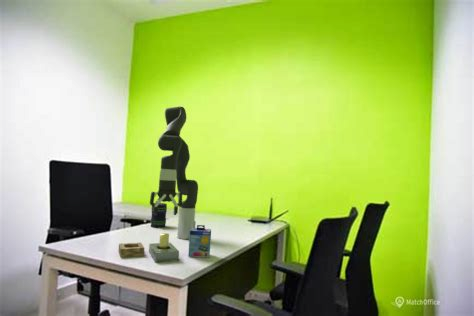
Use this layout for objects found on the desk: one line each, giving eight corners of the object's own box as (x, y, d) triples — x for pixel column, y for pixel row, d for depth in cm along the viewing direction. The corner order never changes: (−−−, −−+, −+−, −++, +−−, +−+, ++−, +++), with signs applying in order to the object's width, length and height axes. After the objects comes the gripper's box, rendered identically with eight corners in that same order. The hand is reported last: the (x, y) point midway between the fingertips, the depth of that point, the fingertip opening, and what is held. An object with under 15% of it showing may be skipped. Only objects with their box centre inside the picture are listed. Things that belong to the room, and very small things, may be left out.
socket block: (140, 249, 150) (141, 242, 150) (143, 255, 141) (144, 247, 141) (118, 251, 146) (118, 243, 146) (120, 257, 137) (120, 249, 137)
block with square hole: (170, 250, 151) (170, 242, 151) (178, 260, 137) (179, 251, 137) (148, 252, 147) (149, 243, 147) (155, 262, 133) (155, 252, 133)
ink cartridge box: (187, 257, 143) (189, 225, 143) (188, 253, 148) (190, 223, 149) (209, 257, 144) (211, 226, 144) (209, 254, 149) (211, 223, 150)
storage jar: (147, 226, 208) (148, 203, 208) (159, 224, 215) (161, 202, 216) (156, 228, 201) (157, 205, 202) (168, 226, 209) (170, 204, 209)
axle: (166, 254, 145) (167, 233, 145) (168, 257, 141) (169, 234, 141) (157, 255, 143) (159, 233, 143) (159, 257, 139) (161, 235, 140)
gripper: (181, 179, 149) (178, 213, 149) (150, 178, 143) (147, 213, 143) (185, 180, 143) (182, 216, 142) (153, 179, 137) (150, 216, 136)
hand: (165, 215), depth 142 cm, fingers open, 8 cm apart
